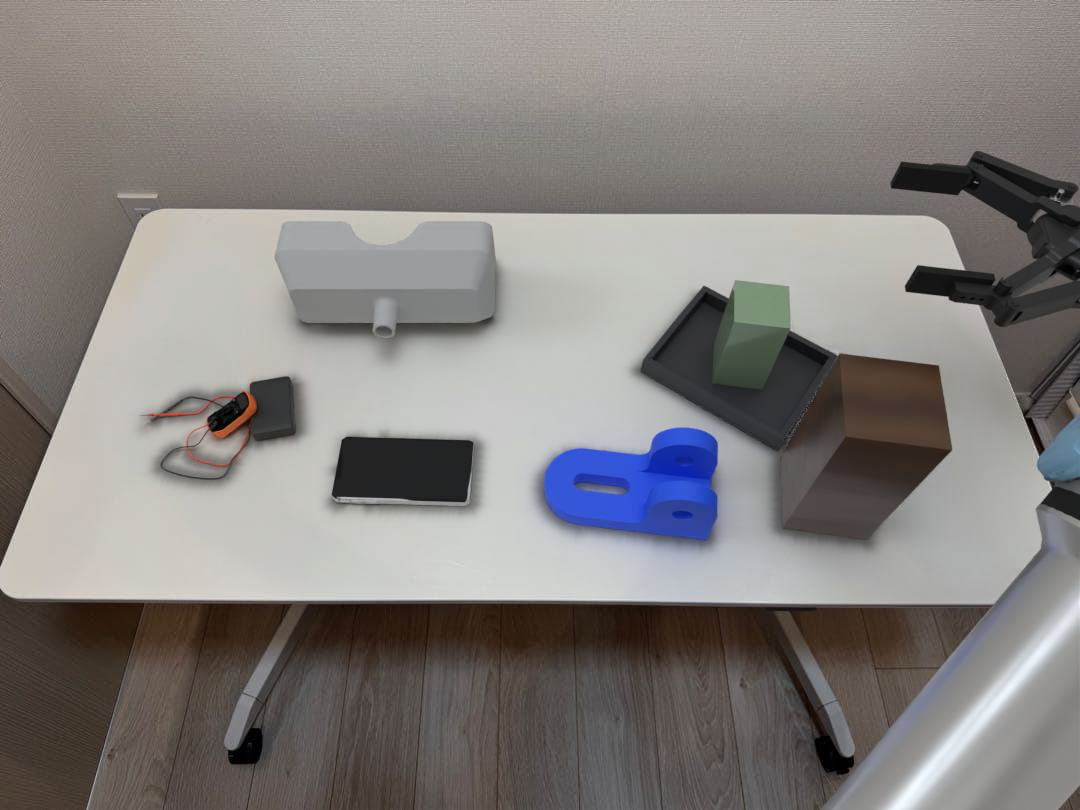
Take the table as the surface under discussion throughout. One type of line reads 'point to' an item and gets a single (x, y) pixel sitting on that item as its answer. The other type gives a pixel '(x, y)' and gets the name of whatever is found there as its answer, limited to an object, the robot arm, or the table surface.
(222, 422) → the multimeter
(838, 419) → the stand
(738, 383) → the green block
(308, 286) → the tank
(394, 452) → the smartphone
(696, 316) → the tray
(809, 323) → the table surface
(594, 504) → the bracket
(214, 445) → the table surface
